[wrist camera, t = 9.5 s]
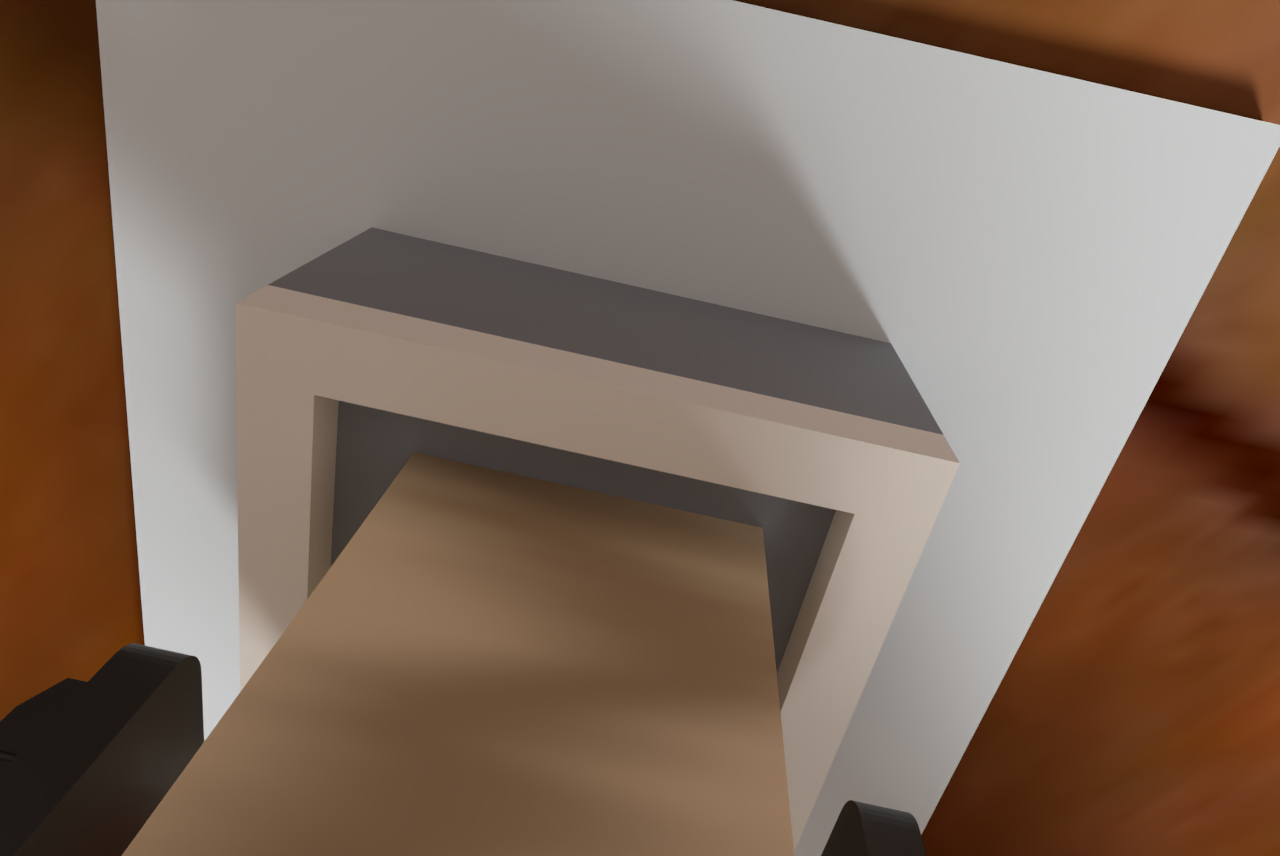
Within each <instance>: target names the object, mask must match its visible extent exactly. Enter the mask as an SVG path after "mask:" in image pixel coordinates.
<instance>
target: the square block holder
mask: <svg viewBox="0 0 1280 856" xmlns="http://www.w3.org/2000/svg"><path fill="white" fill-rule="evenodd" d="M96 11H97V25H98V38H99V51H100V64H101V77H102V90H103V103H104V116H105V130H106V143H107V156H108V169H109V182H110V195H111V208H112V221H113V235H114V248H115V261H116V274H117V287H118V300H119V313H120V326H121V340H122V353H123V366H124V379H125V392H126V405H127V418H128V431H129V445H130V458H131V471H132V484H133V497H134V510H135V523H136V536H137V550H138V563H139V576H140V589H141V602H142V615H143V628H144V641H145V646H150V647H154V648H159V649H163V650H168V651H173V652H177V653H182V654H187V655H191V656H195V657H197V658H198V660H199V661H200V664H201V675H202V701H203V727H204V741H205V740H206V739H207V737H208V736H209V734H210V733H211V732H212V730H213V729H214V728H215V726H216V725H217V723H218V722H219V721H220V719H221V718H222V717H223V715H224V714H225V712H226V711H227V710H228V708H229V707H230V706H231V704H232V703H233V701H234V700H235V699H236V697H237V696H238V694H239V693H240V692H241V690H242V689H243V688H244V686H245V685H246V683H247V682H248V681H249V679H250V678H251V677H252V675H253V674H254V672H255V671H256V670H257V668H258V667H259V666H260V664H261V663H262V661H263V660H264V659H265V657H266V656H267V655H268V653H269V652H270V650H271V649H272V648H273V646H274V645H275V643H276V642H277V641H278V639H279V638H280V637H281V635H282V634H283V632H284V631H285V630H286V628H287V627H288V626H289V624H290V623H291V621H292V620H293V619H294V617H295V616H296V615H297V613H298V612H299V610H300V609H301V608H302V606H303V605H304V603H305V602H306V601H307V599H308V598H309V597H310V595H311V594H312V592H313V591H314V590H315V588H316V587H317V586H318V584H319V583H320V581H321V580H322V579H323V577H324V576H325V575H326V573H327V572H328V570H329V569H330V568H331V566H332V565H333V564H334V562H335V561H336V559H337V558H338V557H339V555H340V554H341V552H342V551H343V550H344V548H345V547H346V546H347V544H348V543H349V541H350V540H351V539H352V537H353V536H354V535H355V533H356V532H357V530H358V529H359V528H360V526H361V525H362V524H363V522H364V521H365V519H366V518H367V517H368V515H369V514H370V512H371V511H372V510H373V508H374V507H375V506H376V504H377V503H378V501H379V500H380V499H381V497H382V496H383V495H384V493H385V492H386V490H387V489H388V488H389V486H390V485H391V484H392V482H393V481H394V479H395V478H396V477H397V475H398V474H399V473H400V471H401V470H402V468H403V467H404V466H405V464H406V463H407V461H408V460H409V459H410V457H411V456H412V455H413V453H414V452H415V453H420V454H424V455H429V456H434V457H438V458H443V459H447V460H452V461H457V462H461V463H466V464H470V465H475V466H480V467H484V468H489V469H494V470H498V471H503V472H507V473H512V474H517V475H521V476H526V477H531V478H535V479H540V480H544V481H549V482H554V483H558V484H563V485H567V486H572V487H577V488H581V489H586V490H591V491H595V492H600V493H604V494H609V495H614V496H618V497H623V498H628V499H632V500H637V501H641V502H646V503H651V504H655V505H660V506H664V507H669V508H674V509H678V510H683V511H688V512H692V513H697V514H701V515H706V516H711V517H715V518H720V519H725V520H729V521H734V522H738V523H743V524H748V525H752V526H757V527H761V528H763V537H764V548H765V558H766V568H767V579H768V589H769V599H770V609H771V620H772V630H773V640H774V651H775V661H776V671H777V682H778V692H779V702H780V712H781V723H782V733H783V743H784V754H785V764H786V774H787V785H788V795H789V805H790V815H791V826H792V836H793V846H794V856H821V854H822V852H823V850H824V848H825V845H826V843H827V841H828V839H829V837H830V834H831V832H832V830H833V828H834V825H835V823H836V821H837V819H838V817H839V814H840V812H841V810H842V808H843V806H844V805H845V803H846V802H848V801H850V800H853V801H857V802H862V803H867V804H871V805H876V806H881V807H885V808H890V809H894V810H899V811H904V812H908V813H911V814H912V815H913V816H914V818H915V819H916V821H917V823H918V826H919V829H920V833H921V835H922V833H923V831H924V829H925V827H926V825H927V823H928V821H929V819H930V817H931V815H932V814H933V812H934V810H935V808H936V806H937V804H938V802H939V800H940V798H941V796H942V794H943V792H944V790H945V789H946V787H947V785H948V783H949V781H950V779H951V777H952V775H953V773H954V771H955V769H956V767H957V765H958V764H959V762H960V760H961V758H962V756H963V754H964V752H965V750H966V748H967V746H968V744H969V742H970V741H971V739H972V737H973V735H974V733H975V731H976V729H977V727H978V725H979V723H980V721H981V719H982V717H983V716H984V714H985V712H986V710H987V708H988V706H989V704H990V702H991V700H992V698H993V696H994V694H995V692H996V691H997V689H998V687H999V685H1000V683H1001V681H1002V679H1003V677H1004V675H1005V673H1006V671H1007V669H1008V667H1009V666H1010V664H1011V662H1012V660H1013V658H1014V656H1015V654H1016V652H1017V650H1018V648H1019V646H1020V644H1021V642H1022V641H1023V639H1024V637H1025V635H1026V633H1027V631H1028V629H1029V627H1030V625H1031V623H1032V621H1033V619H1034V617H1035V616H1036V614H1037V612H1038V610H1039V608H1040V606H1041V604H1042V602H1043V600H1044V598H1045V596H1046V594H1047V592H1048V591H1049V589H1050V587H1051V585H1052V583H1053V581H1054V579H1055V577H1056V575H1057V573H1058V571H1059V569H1060V567H1061V566H1062V564H1063V562H1064V560H1065V558H1066V556H1067V554H1068V552H1069V550H1070V548H1071V546H1072V544H1073V543H1074V541H1075V539H1076V537H1077V535H1078V533H1079V531H1080V529H1081V527H1082V525H1083V523H1084V521H1085V519H1086V518H1087V516H1088V514H1089V512H1090V510H1091V508H1092V506H1093V504H1094V502H1095V500H1096V498H1097V496H1098V494H1099V493H1100V491H1101V489H1102V487H1103V485H1104V483H1105V481H1106V479H1107V477H1108V475H1109V473H1110V471H1111V469H1112V468H1113V466H1114V464H1115V462H1116V460H1117V458H1118V456H1119V454H1120V452H1121V450H1122V448H1123V446H1124V444H1125V443H1126V441H1127V439H1128V437H1129V435H1130V433H1131V431H1132V429H1133V427H1134V425H1135V423H1136V421H1137V419H1138V418H1139V416H1140V414H1141V412H1142V410H1143V408H1144V406H1145V404H1146V402H1147V400H1148V398H1149V396H1150V394H1151V393H1152V391H1153V389H1154V387H1155V385H1156V383H1157V381H1158V379H1159V377H1160V375H1161V373H1162V371H1163V370H1164V368H1165V366H1166V364H1167V362H1168V360H1169V358H1170V356H1171V354H1172V352H1173V350H1174V348H1175V346H1176V345H1177V343H1178V341H1179V339H1180V337H1181V335H1182V333H1183V331H1184V329H1185V327H1186V325H1187V323H1188V321H1189V320H1190V318H1191V316H1192V314H1193V312H1194V310H1195V308H1196V306H1197V304H1198V302H1199V300H1200V298H1201V296H1202V295H1203V293H1204V291H1205V289H1206V287H1207V285H1208V283H1209V281H1210V279H1211V277H1212V275H1213V273H1214V271H1215V270H1216V268H1217V266H1218V264H1219V262H1220V260H1221V258H1222V256H1223V254H1224V252H1225V250H1226V248H1227V246H1228V245H1229V243H1230V241H1231V239H1232V237H1233V235H1234V233H1235V231H1236V229H1237V227H1238V225H1239V223H1240V221H1241V220H1242V218H1243V216H1244V214H1245V212H1246V210H1247V208H1248V206H1249V204H1250V202H1251V200H1252V198H1253V196H1254V195H1255V193H1256V191H1257V189H1258V187H1259V185H1260V183H1261V181H1262V179H1263V177H1264V175H1265V173H1266V172H1267V170H1268V168H1269V166H1270V164H1271V162H1272V160H1273V158H1274V156H1275V154H1276V152H1277V150H1278V148H1279V147H1280V125H1277V124H1273V123H1269V122H1264V121H1260V120H1255V119H1251V118H1247V117H1242V116H1238V115H1233V114H1229V113H1225V112H1220V111H1216V110H1212V109H1207V108H1203V107H1198V106H1194V105H1190V104H1185V103H1181V102H1177V101H1172V100H1168V99H1163V98H1159V97H1155V96H1150V95H1146V94H1141V93H1137V92H1133V91H1128V90H1124V89H1120V88H1115V87H1111V86H1106V85H1102V84H1098V83H1093V82H1089V81H1085V80H1080V79H1076V78H1071V77H1067V76H1063V75H1058V74H1054V73H1049V72H1045V71H1041V70H1036V69H1032V68H1028V67H1023V66H1019V65H1014V64H1010V63H1006V62H1001V61H997V60H993V59H988V58H984V57H979V56H975V55H971V54H966V53H962V52H957V51H953V50H949V49H944V48H940V47H936V46H931V45H927V44H922V43H918V42H914V41H909V40H905V39H900V38H896V37H892V36H887V35H883V34H879V33H874V32H870V31H865V30H861V29H857V28H852V27H848V26H844V25H839V24H835V23H830V22H826V21H822V20H817V19H813V18H808V17H804V16H800V15H795V14H791V13H787V12H782V11H778V10H773V9H769V8H765V7H760V6H756V5H752V4H747V3H743V2H738V1H734V0H96Z"/></svg>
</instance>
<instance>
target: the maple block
mask: <svg viewBox="0 0 1280 856" xmlns="http://www.w3.org/2000/svg"><path fill="white" fill-rule="evenodd" d="M122 856H794V846H793V836H792V826H791V815H790V805H789V795H788V785H787V774H786V764H785V754H784V743H783V733H782V723H781V712H780V702H779V692H778V682H777V671H776V661H775V651H774V640H773V630H772V620H771V609H770V599H769V589H768V579H767V568H766V558H765V548H764V537H763V528H761V527H757V526H752V525H748V524H743V523H738V522H734V521H729V520H725V519H720V518H715V517H711V516H706V515H701V514H697V513H692V512H688V511H683V510H678V509H674V508H669V507H664V506H660V505H655V504H651V503H646V502H641V501H637V500H632V499H628V498H623V497H618V496H614V495H609V494H604V493H600V492H595V491H591V490H586V489H581V488H577V487H572V486H567V485H563V484H558V483H554V482H549V481H544V480H540V479H535V478H531V477H526V476H521V475H517V474H512V473H507V472H503V471H498V470H494V469H489V468H484V467H480V466H475V465H470V464H466V463H461V462H457V461H452V460H447V459H443V458H438V457H434V456H429V455H424V454H420V453H415V452H414V453H413V455H412V456H411V457H410V459H409V460H408V461H407V463H406V464H405V466H404V467H403V468H402V470H401V471H400V473H399V474H398V475H397V477H396V478H395V479H394V481H393V482H392V484H391V485H390V486H389V488H388V489H387V490H386V492H385V493H384V495H383V496H382V497H381V499H380V500H379V501H378V503H377V504H376V506H375V507H374V508H373V510H372V511H371V512H370V514H369V515H368V517H367V518H366V519H365V521H364V522H363V524H362V525H361V526H360V528H359V529H358V530H357V532H356V533H355V535H354V536H353V537H352V539H351V540H350V541H349V543H348V544H347V546H346V547H345V548H344V550H343V551H342V552H341V554H340V555H339V557H338V558H337V559H336V561H335V562H334V564H333V565H332V566H331V568H330V569H329V570H328V572H327V573H326V575H325V576H324V577H323V579H322V580H321V581H320V583H319V584H318V586H317V587H316V588H315V590H314V591H313V592H312V594H311V595H310V597H309V598H308V599H307V601H306V602H305V603H304V605H303V606H302V608H301V609H300V610H299V612H298V613H297V615H296V616H295V617H294V619H293V620H292V621H291V623H290V624H289V626H288V627H287V628H286V630H285V631H284V632H283V634H282V635H281V637H280V638H279V639H278V641H277V642H276V643H275V645H274V646H273V648H272V649H271V650H270V652H269V653H268V655H267V656H266V657H265V659H264V660H263V661H262V663H261V664H260V666H259V667H258V668H257V670H256V671H255V672H254V674H253V675H252V677H251V678H250V679H249V681H248V682H247V683H246V685H245V686H244V688H243V689H242V690H241V692H240V693H239V694H238V696H237V697H236V699H235V700H234V701H233V703H232V704H231V706H230V707H229V708H228V710H227V711H226V712H225V714H224V715H223V717H222V718H221V719H220V721H219V722H218V723H217V725H216V726H215V728H214V729H213V730H212V732H211V733H210V734H209V736H208V737H207V739H206V740H205V741H204V743H203V744H202V746H201V747H200V748H199V750H198V751H197V752H196V754H195V755H194V757H193V758H192V759H191V761H190V762H189V763H188V765H187V766H186V768H185V769H184V770H183V772H182V773H181V774H180V776H179V777H178V779H177V780H176V781H175V783H174V784H173V786H172V787H171V788H170V790H169V791H168V792H167V794H166V795H165V797H164V798H163V799H162V801H161V802H160V803H159V805H158V806H157V808H156V809H155V810H154V812H153V813H152V814H151V816H150V817H149V819H148V820H147V821H146V823H145V824H144V825H143V827H142V828H141V830H140V831H139V832H138V834H137V835H136V837H135V838H134V839H133V841H132V842H131V843H130V845H129V846H128V848H127V849H126V850H125V852H124V853H123V854H122Z"/></svg>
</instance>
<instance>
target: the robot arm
mask: <svg viewBox="0 0 1280 856" xmlns="http://www.w3.org/2000/svg"><path fill="white" fill-rule="evenodd" d="M203 743H204V727H203V701H202V675H201V664H200V661H199V660H198V658H197V657H195V656H191V655H187V654H182V653H177V652H173V651H168V650H163V649H159V648H154V647H150V646H145V645H140V644H135V643H133V644H129V645H126V646H124V647H123V648H122V649H120V650H119V651H118V652H117V653H116V654H115V655H114V656H113V657H112V658H111V659H110V660H109V661H108V662H107V663H106V664H105V665H104V666H103V667H102V668H101V669H100V670H99V671H98V672H97V673H96V674H95V675H94V676H93V677H92V678H91V679H90V680H89V681H88V682H84V681H80V680H75V679H70V678H67V679H65V680H63V681H61V682H60V683H58V684H56V685H54V686H52V687H51V688H49V689H47V690H45V691H43V692H42V693H40V694H38V695H36V696H34V697H33V698H31V699H29V700H27V701H25V702H24V703H22V704H20V705H18V706H17V707H15V708H14V709H13V710H12V711H11V712H10V713H9V714H8V715H7V716H6V717H5V718H4V719H3V720H2V721H1V722H0V856H122V854H123V853H124V852H125V850H126V849H127V848H128V846H129V845H130V843H131V842H132V841H133V839H134V838H135V837H136V835H137V834H138V832H139V831H140V830H141V828H142V827H143V825H144V824H145V823H146V821H147V820H148V819H149V817H150V816H151V814H152V813H153V812H154V810H155V809H156V808H157V806H158V805H159V803H160V802H161V801H162V799H163V798H164V797H165V795H166V794H167V792H168V791H169V790H170V788H171V787H172V786H173V784H174V783H175V781H176V780H177V779H178V777H179V776H180V774H181V773H182V772H183V770H184V769H185V768H186V766H187V765H188V763H189V762H190V761H191V759H192V758H193V757H194V755H195V754H196V752H197V751H198V750H199V748H200V747H201V746H202V744H203ZM821 856H926V852H925V848H924V844H923V840H922V837H921V833H920V829H919V826H918V823H917V821H916V819H915V818H914V816H913V815H912V814H911V813H908V812H904V811H899V810H894V809H890V808H885V807H881V806H876V805H871V804H867V803H862V802H857V801H853V800H850V801H848V802H846V803H845V805H844V806H843V808H842V810H841V812H840V814H839V817H838V819H837V821H836V823H835V825H834V828H833V830H832V832H831V834H830V837H829V839H828V841H827V843H826V845H825V848H824V850H823V852H822V854H821Z"/></svg>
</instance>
